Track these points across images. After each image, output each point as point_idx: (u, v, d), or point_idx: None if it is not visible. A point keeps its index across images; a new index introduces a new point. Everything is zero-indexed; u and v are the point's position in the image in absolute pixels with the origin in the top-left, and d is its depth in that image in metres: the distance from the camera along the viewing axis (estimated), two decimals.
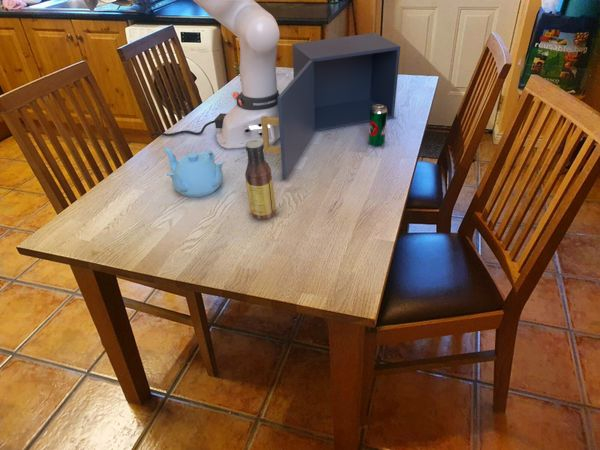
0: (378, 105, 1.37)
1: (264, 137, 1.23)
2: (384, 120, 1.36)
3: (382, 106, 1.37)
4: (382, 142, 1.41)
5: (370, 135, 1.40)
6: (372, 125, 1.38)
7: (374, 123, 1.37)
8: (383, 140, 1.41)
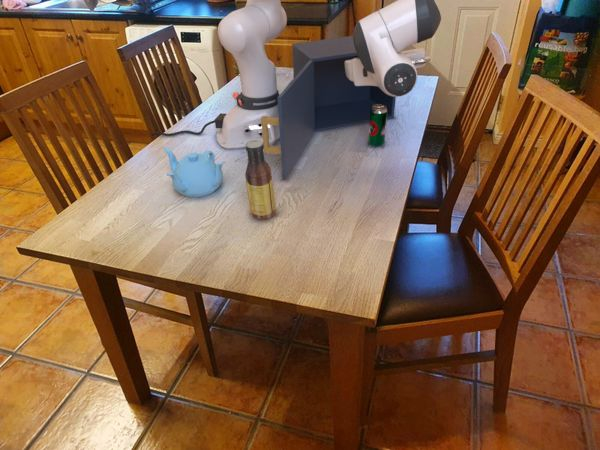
0: (378, 105, 1.37)
1: (264, 137, 1.23)
2: (384, 120, 1.36)
3: (382, 106, 1.37)
4: (382, 142, 1.41)
5: (370, 135, 1.40)
6: (372, 125, 1.38)
7: (374, 123, 1.37)
8: (383, 140, 1.41)
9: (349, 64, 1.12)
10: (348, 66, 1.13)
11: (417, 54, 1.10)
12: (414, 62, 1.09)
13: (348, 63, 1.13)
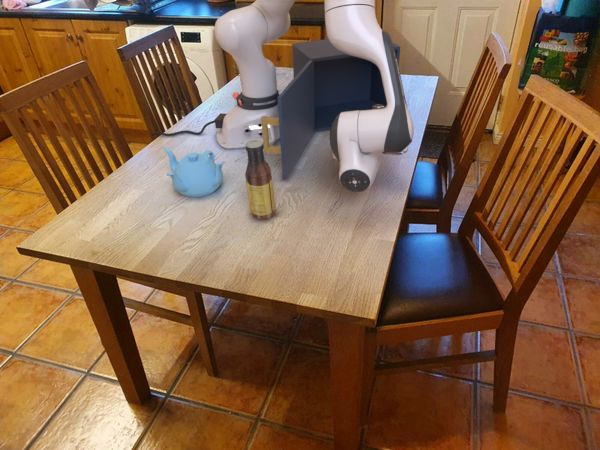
0: (378, 105, 1.37)
1: (264, 137, 1.23)
2: None
3: (382, 106, 1.37)
4: None
5: None
6: None
7: None
8: None
9: None
10: None
11: None
12: (389, 151, 1.15)
13: None
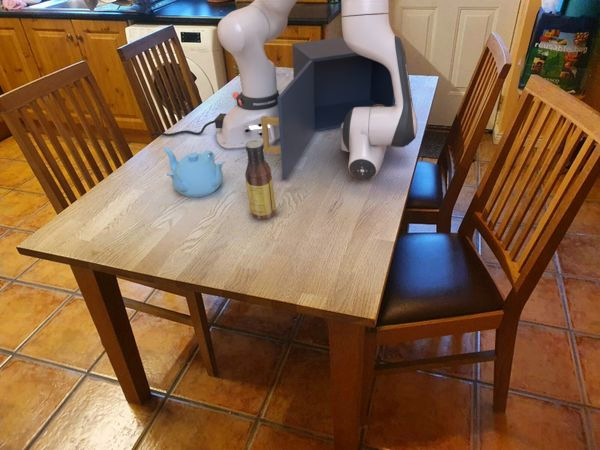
0: (378, 105, 1.37)
1: (264, 137, 1.23)
2: None
3: (382, 106, 1.37)
4: None
5: None
6: None
7: None
8: None
9: (341, 130, 1.32)
10: (341, 131, 1.33)
11: None
12: None
13: (341, 129, 1.33)
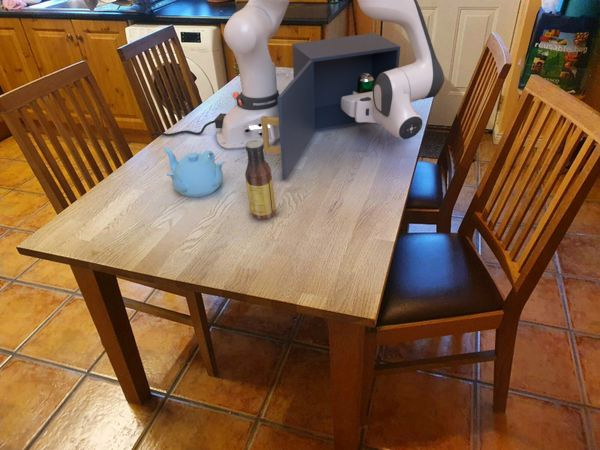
0: (363, 74, 1.41)
1: (264, 137, 1.23)
2: None
3: (367, 74, 1.41)
4: None
5: None
6: None
7: None
8: None
9: (351, 103, 1.32)
10: (349, 104, 1.33)
11: None
12: None
13: (350, 102, 1.32)
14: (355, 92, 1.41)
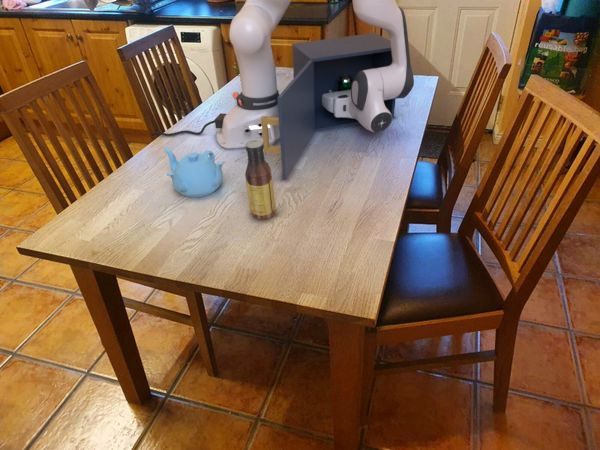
0: (343, 75, 1.56)
1: (264, 137, 1.23)
2: None
3: (346, 75, 1.56)
4: None
5: None
6: None
7: None
8: None
9: (330, 100, 1.47)
10: (329, 101, 1.48)
11: None
12: None
13: (329, 99, 1.47)
14: (331, 91, 1.56)
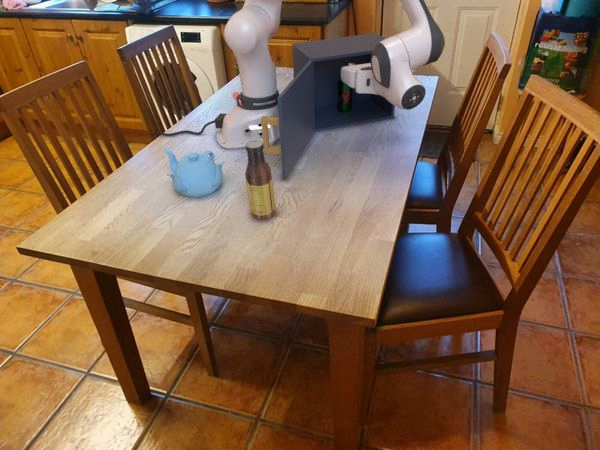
0: None
1: (264, 137, 1.23)
2: None
3: None
4: (351, 107, 1.61)
5: (341, 103, 1.59)
6: (343, 93, 1.56)
7: (345, 91, 1.56)
8: (351, 105, 1.61)
9: (351, 73, 1.27)
10: (350, 74, 1.28)
11: None
12: None
13: (350, 72, 1.27)
14: (351, 64, 1.36)
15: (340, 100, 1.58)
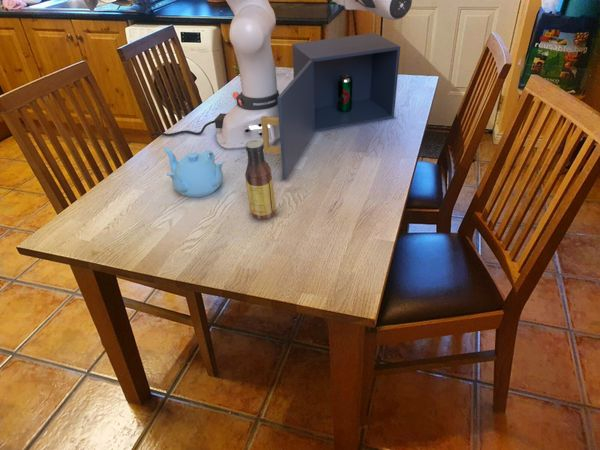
0: (343, 75, 1.56)
1: (264, 137, 1.23)
2: None
3: (346, 75, 1.56)
4: (351, 107, 1.61)
5: (341, 103, 1.59)
6: (343, 93, 1.56)
7: (345, 91, 1.56)
8: (351, 105, 1.61)
9: None
10: None
11: None
12: None
13: None
14: None
15: (340, 100, 1.58)
